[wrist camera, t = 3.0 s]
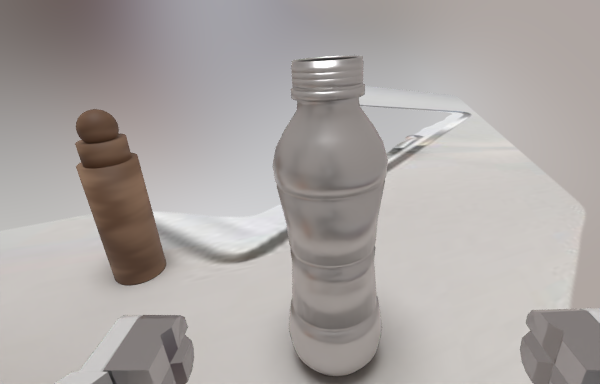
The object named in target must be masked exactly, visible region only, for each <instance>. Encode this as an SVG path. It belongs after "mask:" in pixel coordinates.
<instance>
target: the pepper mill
mask: <svg viewBox="0 0 600 384" xmlns="http://www.w3.org/2000/svg"><path fill="white" fill-rule="evenodd" d="M76 130H77V133H78V135H79V137H80V138H81V139H82V140H80V141H78V142H76V144H75V145H76V147H77V151H78V154H79V156H80V160H81V163H79V164H78V165H77V166H76V168H77V171H78V174H79V177H80V180H81V183H82V185H83V188H84V191H85V194H86V197H87V200H88V203H89V206H90V208H91V211H92V214H93V217H94V220H95V223H96V226H97V229H98V232H99V234H100V237H101V240H102V243H103V246H104V249H105V252H106V255H107V257H108V260H109V263H110V266H111V269H112V272H113V275H114V278H115V280H116V282H118V283H119V284H122V285H136V284H140V283H143V282H146V281H149V280H151V279H153V278H154V277H156V276H157V275H159V274H160V273H161V272H162V271H163V270H164V268H165V266H166V261H165V257H164V253H163V249H162V246H161V242H160V238H159V234H158V231H157V227H156V223H155V219H154V216H153V212H152V209H151V204H150V201H149V197H148V193H147V190H146V186H145V182H144V178H143V175H142V171H141V167H140V163H139V160H138V156H137V154H135V153H131V152H130V149H129V146H128V142H127V138H126V135H125V134H118V131H119V129H118V124H117V122H116V120H115V119H114V117H113V116H112V115H110V114H109V113H107V112H105V111H103V110H97V109H93V110H88V111H86V112H84V113H82V114H81V115H80V117H79V118H78V120H77V122H76Z"/></svg>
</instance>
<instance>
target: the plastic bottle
mask: <svg viewBox="0 0 600 384" xmlns="http://www.w3.org/2000/svg"><path fill="white" fill-rule="evenodd" d="M362 59H363V57H362V56H332V57H317V58H307V59H299V60H293V61H292V65H291V69H292V84H293V88H292V89H291V98H292V99H293V100H297V111H296V112H295V114H294V116H293V117H292V119H291V120H290V122H289V124H288V125H287V127H286V129H285V130H284V132H283V134H282V137H281V138H280V140H279V142H278V144H277V146H276V150H275V155H274V160H273V170H274V176H275V181H276V183H277V189H278V193H279V197H280V200H281V205H282V208H283V212H284V216H285V220H286V224H287V230H288V237H289V244H290V247H291V257H292V301H291V306H290V317H289V332H290V335H291V339H292V342H293V345H294V348H295V350H296V353H297V354H298V356H299V358H300V359H301V360H302V361H303V362H304V363H305V364H306V365H307V366H309V367H310V368H312V369H313V370H315V371H317V372H319V373H322V374H325V375H329V376H344V375H348V374H351V373H354V372H355V371H357V370H359V369H361V368H362V367H364V366H365V365H366V364H367V363H369V362H370V360H371V359H372V358H373V356H374V355H375V353H376V350H377V348H378V344H379V340H380V337H381V332H382V322H381V314H380V306H379V302H378V298H377V295H376V281H375V267H374V256H375V242H376V233H377V221H378V215H379V210H380V205H381V199H382V194H383V189H384V183H385V178H386V172H387V163H388V159H387V155H386V152H385V148H384V144H383V141H382V139H381V137H380V136H379V134H378V132H377V130H376V129H375V127H374V125H373V124H372V123H371V121H370V120H369V118H368V117H367V116H366V114H365V113H364V112H363V110H362V109H361V108H360V104H359V97H361V96H363V95H364V94H365V84H363V60H362Z"/></svg>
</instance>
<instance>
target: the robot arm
mask: <svg viewBox="0 0 600 384" xmlns="http://www.w3.org/2000/svg"><path fill="white" fill-rule="evenodd" d="M526 324H527V326H528V327H529V329H530V330H531V331H530V332H528V333H527V334H526V335H525V336H524V337H523V338H522V341H521V346H520V352H521V359H522V363H523V366H524V368H525V371H526V373H527V375H528V376H529V378H530V380H531V381H532V383H534V384H600V308H587V309H586V308H584V309H551V310H532V311H531V312H530V313H529V314H528V316H527V320H526ZM187 328H188V326H187V323H186V320H185V317H183V316H180V315H143V316H137V315H124V316H122V317H120V318H119V319H118V320H117V321H116V322H115V323H114V325H113V326H112V327H111V329H110V330H109V332H108V333H107V334H106V336H105V337H104V338H103V340H102V341H101V342H100V344H99V345H98V346H97V348H96V349H95V350H94V352H93V353H92V354H91V356H90V357H89V358H88V360H87V361H86V362H85V364H84V365H83V366H82V368H81V369H80V371H79V372H71V373H70V374H68V375H67V376H65V377H64V378H62V379H61V380H59V381H58V382H56V383H54V384H185V383H187V382H188V380H189V377H190V374H191V372H192V367H193V361H194V348H193V344H192V341H191V340H190V339H189V338H188V337H187V336H186V335H185V333H186V330H187Z"/></svg>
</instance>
